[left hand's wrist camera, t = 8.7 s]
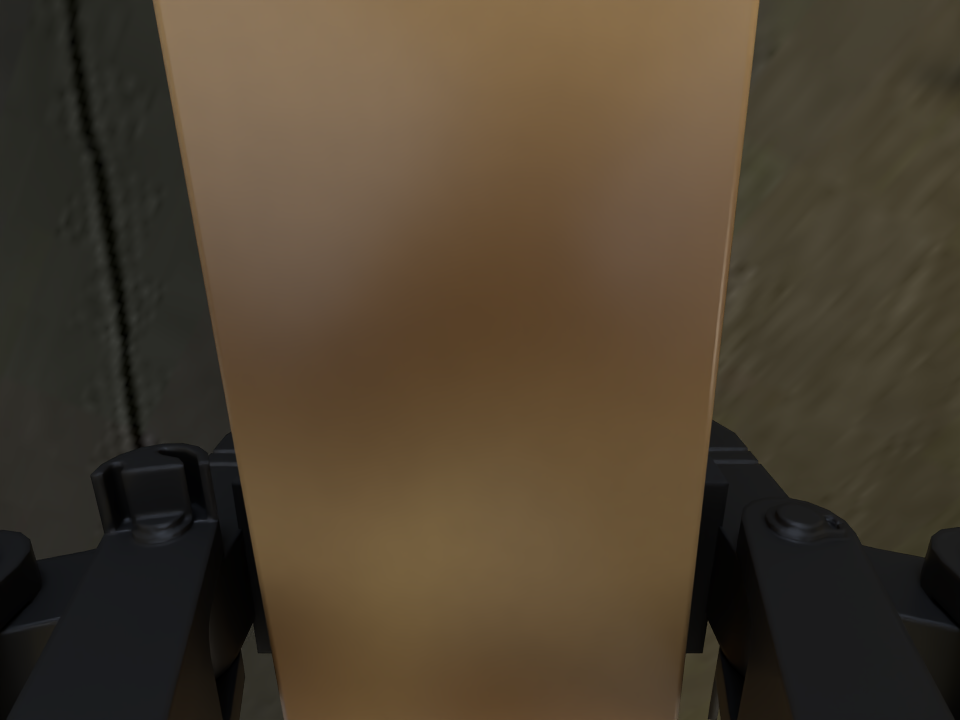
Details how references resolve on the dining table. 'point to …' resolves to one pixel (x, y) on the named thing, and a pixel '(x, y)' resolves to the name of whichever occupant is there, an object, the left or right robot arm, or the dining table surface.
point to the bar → (467, 334)
